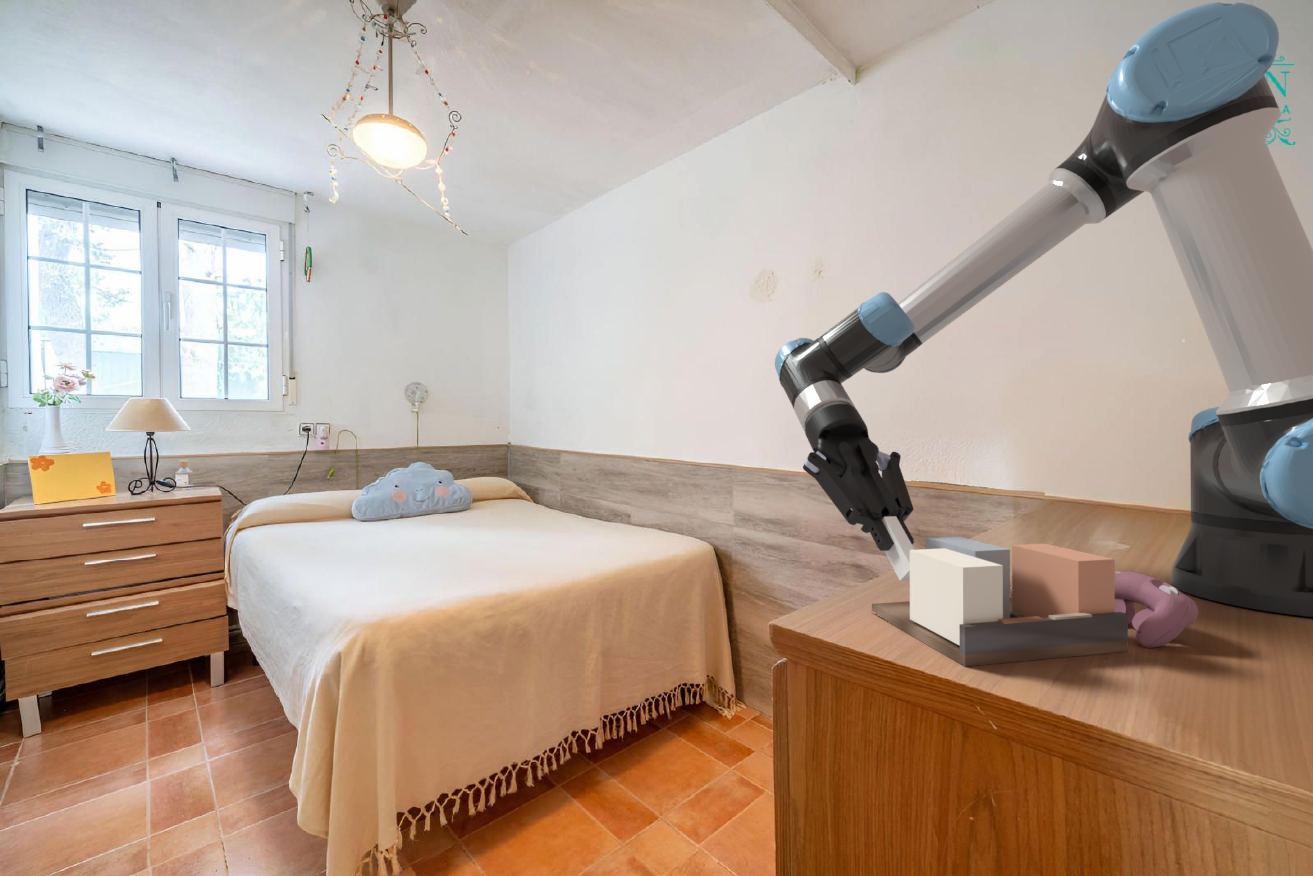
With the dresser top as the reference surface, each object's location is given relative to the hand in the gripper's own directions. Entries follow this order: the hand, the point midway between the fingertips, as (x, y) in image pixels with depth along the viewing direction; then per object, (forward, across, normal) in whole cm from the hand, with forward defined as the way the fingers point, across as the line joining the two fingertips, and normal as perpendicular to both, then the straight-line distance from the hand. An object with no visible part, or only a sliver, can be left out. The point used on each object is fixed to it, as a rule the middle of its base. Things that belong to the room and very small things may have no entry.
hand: (911, 573), depth 54 cm
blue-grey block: (+3, -6, -2) cm, 7 cm away
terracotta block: (+7, -12, +1) cm, 14 cm away
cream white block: (+7, 0, +1) cm, 7 cm away
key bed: (+6, -6, -2) cm, 8 cm away
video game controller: (+8, -20, 0) cm, 22 cm away
